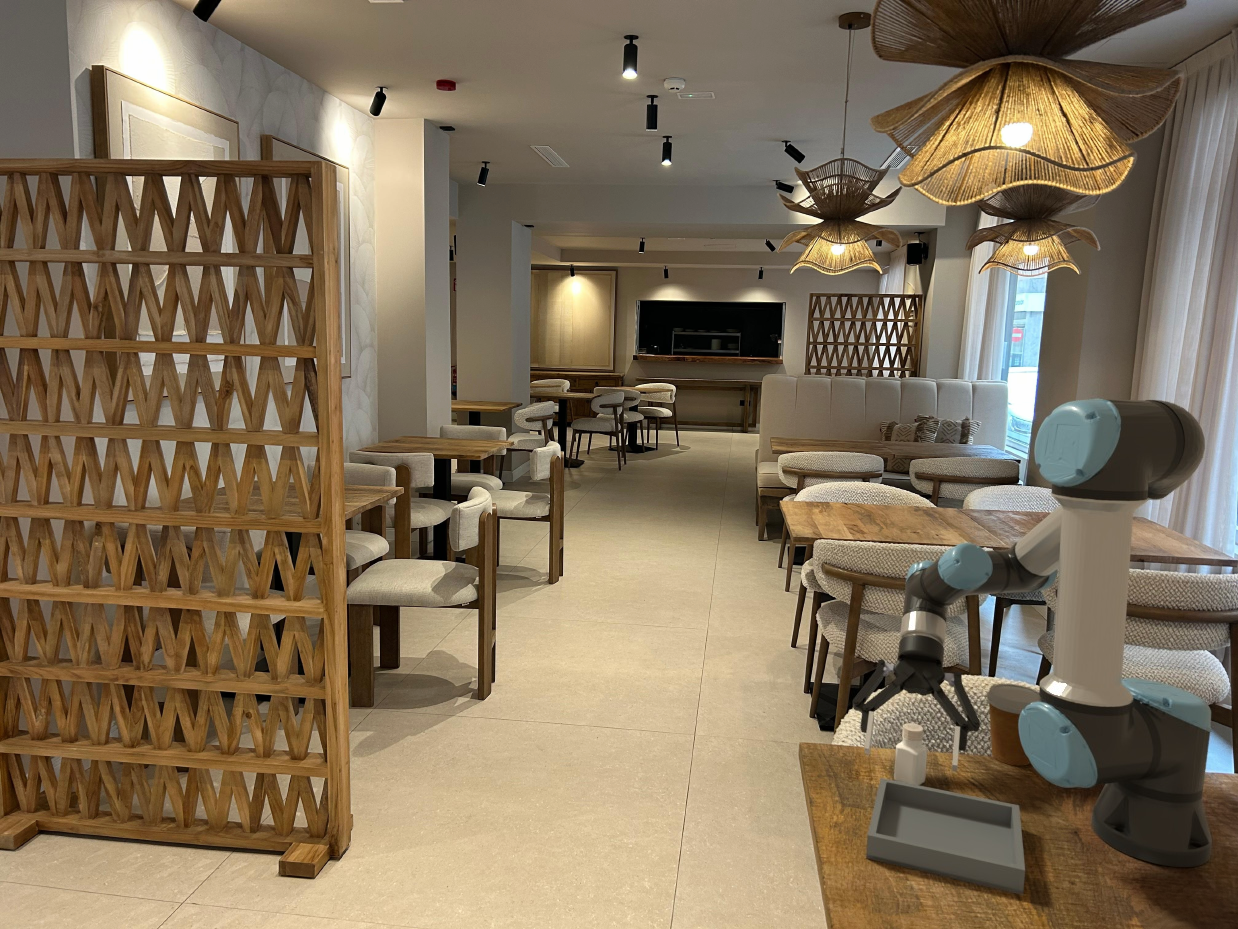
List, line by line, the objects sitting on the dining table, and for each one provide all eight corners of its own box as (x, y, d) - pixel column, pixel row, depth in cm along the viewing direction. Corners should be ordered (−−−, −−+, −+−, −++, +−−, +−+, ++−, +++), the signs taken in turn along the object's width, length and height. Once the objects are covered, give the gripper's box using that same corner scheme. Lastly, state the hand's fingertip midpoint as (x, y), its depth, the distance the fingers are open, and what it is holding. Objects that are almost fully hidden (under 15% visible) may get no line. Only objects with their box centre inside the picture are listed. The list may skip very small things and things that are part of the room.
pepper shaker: (892, 781, 143) (895, 726, 142) (904, 773, 146) (908, 719, 145) (914, 790, 140) (918, 734, 139) (926, 782, 143) (930, 727, 142)
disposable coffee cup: (1047, 773, 147) (1053, 706, 146) (988, 766, 149) (993, 700, 147) (1032, 748, 156) (1038, 685, 155) (976, 742, 158) (982, 680, 157)
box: (1017, 827, 130) (1018, 805, 129) (1022, 895, 113) (1025, 870, 113) (879, 798, 137) (880, 778, 137) (866, 858, 121) (867, 835, 120)
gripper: (997, 664, 150) (991, 783, 139) (850, 643, 160) (833, 753, 148) (1000, 644, 145) (994, 766, 133) (848, 623, 154) (830, 736, 142)
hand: (910, 760), depth 141 cm, fingers open, 13 cm apart
